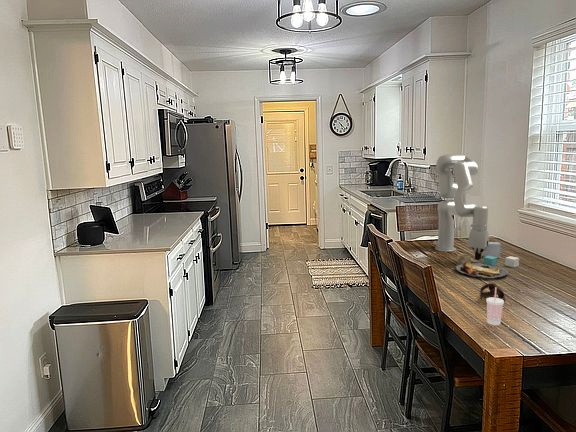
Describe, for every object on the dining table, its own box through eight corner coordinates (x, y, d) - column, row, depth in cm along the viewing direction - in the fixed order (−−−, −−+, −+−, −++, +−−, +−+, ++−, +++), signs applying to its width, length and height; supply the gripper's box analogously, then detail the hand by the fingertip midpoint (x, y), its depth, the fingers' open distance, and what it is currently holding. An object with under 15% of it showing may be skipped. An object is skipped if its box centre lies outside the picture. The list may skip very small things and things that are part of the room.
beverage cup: (505, 323, 165) (508, 287, 162) (497, 327, 161) (499, 291, 159) (490, 318, 170) (492, 283, 167) (481, 321, 166) (483, 287, 164)
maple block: (457, 263, 246) (457, 255, 245) (462, 261, 249) (462, 254, 248) (465, 265, 242) (465, 257, 241) (470, 263, 245) (470, 255, 244)
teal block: (483, 265, 242) (483, 257, 241) (488, 263, 245) (488, 255, 244) (491, 267, 238) (492, 259, 237) (496, 265, 241) (497, 257, 240)
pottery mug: (507, 306, 183) (499, 290, 181) (485, 311, 188) (476, 296, 186) (506, 290, 193) (498, 275, 191) (485, 296, 198) (477, 281, 196)
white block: (504, 265, 240) (505, 257, 239) (509, 264, 243) (510, 256, 242) (514, 267, 236) (514, 259, 235) (518, 265, 239) (519, 258, 238)
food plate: (447, 273, 228) (448, 266, 227) (464, 264, 244) (465, 258, 244) (498, 284, 211) (498, 277, 210) (512, 273, 228) (513, 267, 227)
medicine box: (497, 256, 258) (498, 242, 257) (500, 258, 254) (501, 244, 253) (483, 256, 259) (484, 242, 258) (486, 258, 255) (487, 243, 253)
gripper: (463, 226, 248) (462, 257, 251) (488, 230, 235) (486, 263, 238) (471, 225, 252) (469, 255, 255) (496, 228, 240) (494, 261, 243)
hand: (477, 259), depth 247 cm, fingers closed
